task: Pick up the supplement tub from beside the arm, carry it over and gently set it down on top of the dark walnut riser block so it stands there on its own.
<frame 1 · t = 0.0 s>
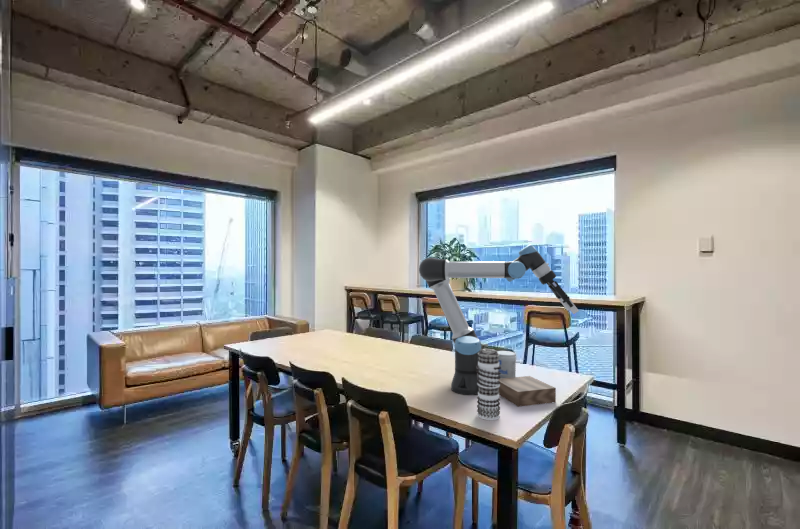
hand: (572, 310, 178), 36 cm above the table, tool tilted 35°, fingers open, 13 cm apart
decorative candle: (488, 416, 145), on the table
supplement tub: (505, 383, 186), on the table
walnut riser: (524, 397, 166), on the table
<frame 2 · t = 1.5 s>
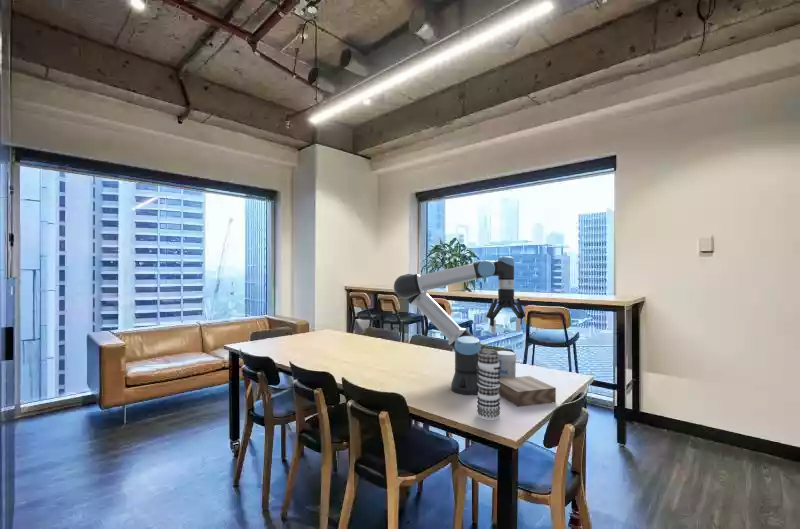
hand: (505, 332, 186), 25 cm above the table, tool pointing down, fingers open, 13 cm apart
nothing on the table moved.
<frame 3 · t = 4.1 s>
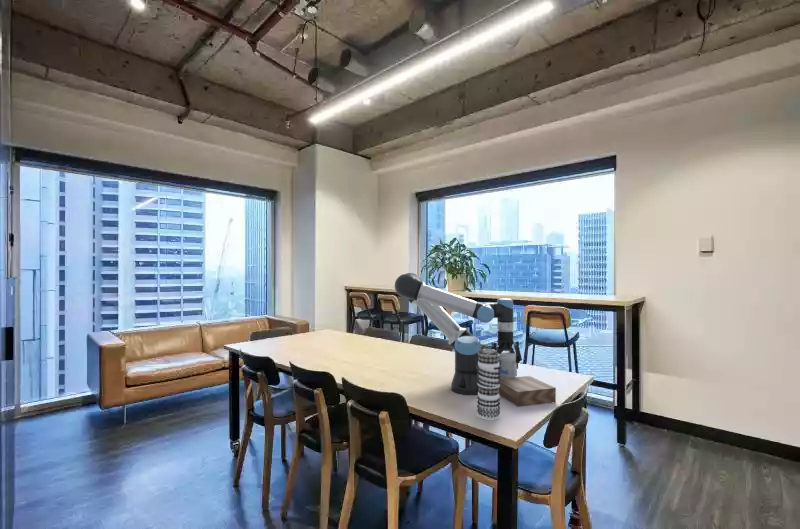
hand: (505, 376, 186), 3 cm above the table, tool pointing down, fingers closed on supplement tub, 10 cm apart
supplement tub: (505, 383, 186), on the table, touching gripper
everything else where it was.
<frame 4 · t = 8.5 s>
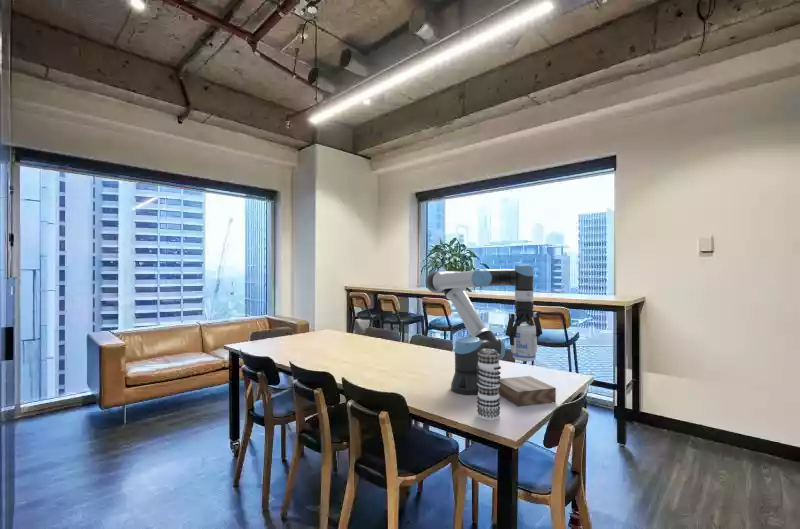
hand: (524, 351, 166), 20 cm above the table, tool pointing down, fingers closed on supplement tub, 10 cm apart
supplement tub: (524, 359, 166), point 16 cm above the table, touching gripper
everything else where it was.
when the fingers open (10 cm above the table, at t = 12.8 s): supplement tub stays where it is, resting on walnut riser.
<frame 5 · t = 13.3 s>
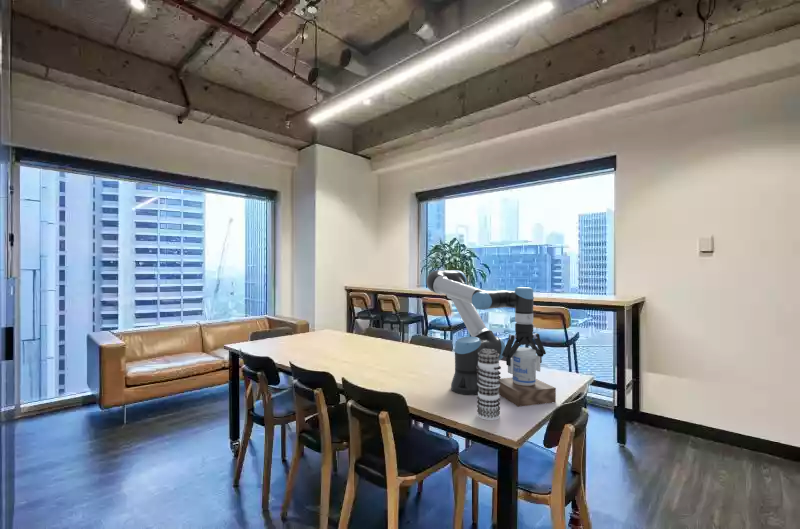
hand: (524, 372, 166), 11 cm above the table, tool pointing down, fingers open, 13 cm apart
supplement tub: (524, 383, 166), point 6 cm above the table, touching walnut riser
everything else where it was.
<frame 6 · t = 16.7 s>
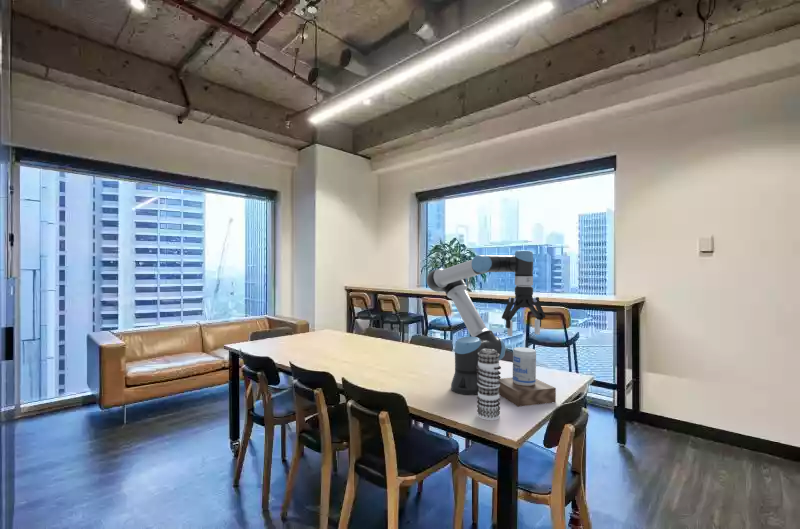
hand: (523, 335, 166), 27 cm above the table, tool pointing down, fingers open, 13 cm apart
nothing on the table moved.
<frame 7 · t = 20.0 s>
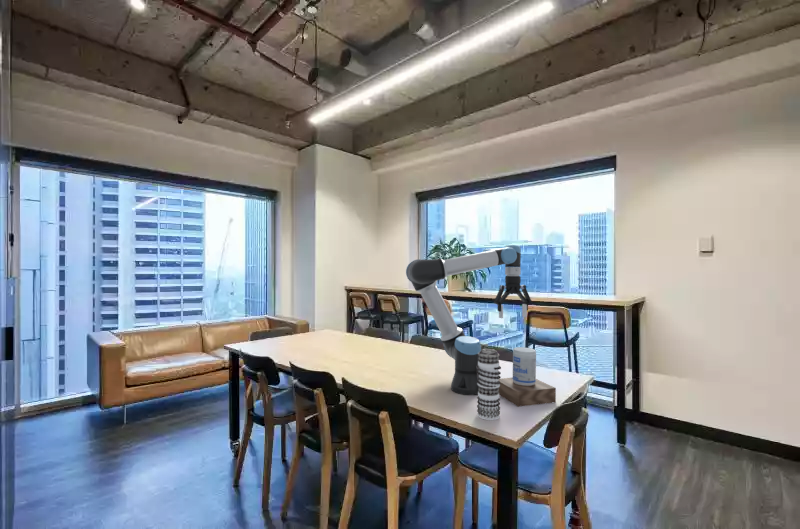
hand: (512, 317, 194), 31 cm above the table, tool pointing down, fingers open, 13 cm apart
nothing on the table moved.
at the end: supplement tub inside the target area on the walnut riser (0.0 cm from its centre), point 5.8 cm above the walnut riser's base; supplement tub tilted 0°; the gripper is holding nothing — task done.
